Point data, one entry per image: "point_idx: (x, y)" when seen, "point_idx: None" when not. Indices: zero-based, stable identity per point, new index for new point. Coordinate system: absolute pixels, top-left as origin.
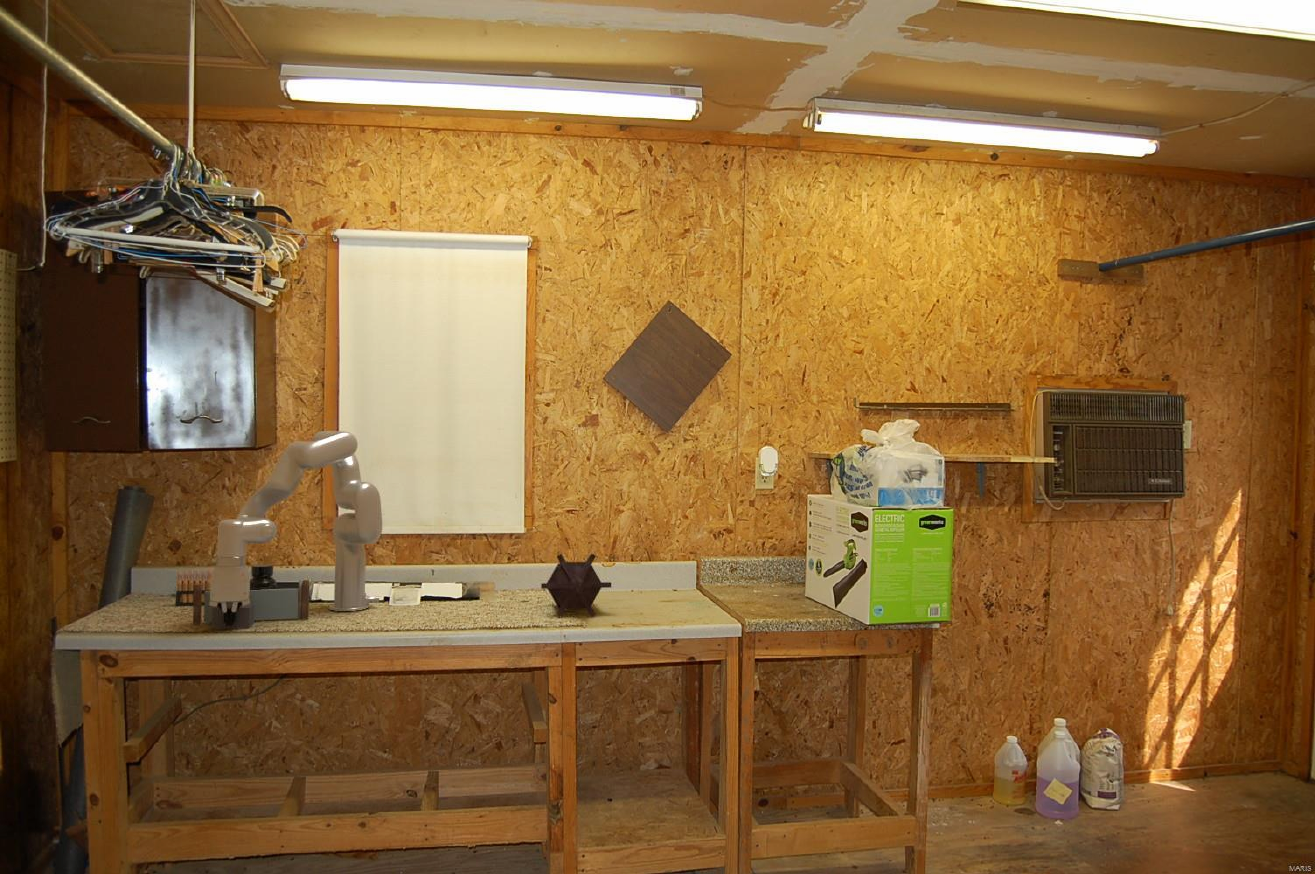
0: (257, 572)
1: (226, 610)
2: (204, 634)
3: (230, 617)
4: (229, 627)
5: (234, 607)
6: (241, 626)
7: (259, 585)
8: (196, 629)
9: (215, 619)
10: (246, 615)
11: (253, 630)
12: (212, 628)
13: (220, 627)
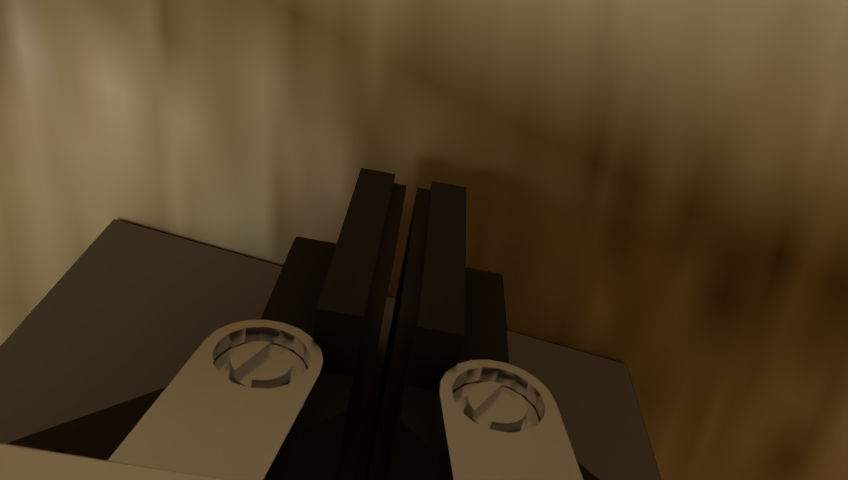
0: None
1: (451, 403)
2: (809, 83)
3: (370, 243)
4: (392, 309)
5: (226, 400)
6: (217, 265)
7: None
8: (797, 447)
9: (604, 462)
10: (61, 360)
11: (26, 31)
12: (619, 367)
13: (515, 347)
